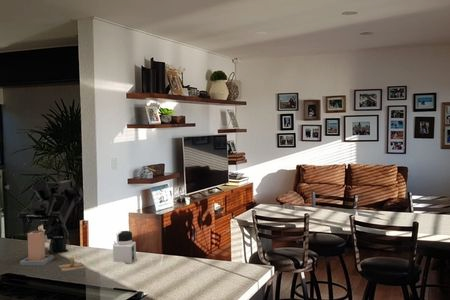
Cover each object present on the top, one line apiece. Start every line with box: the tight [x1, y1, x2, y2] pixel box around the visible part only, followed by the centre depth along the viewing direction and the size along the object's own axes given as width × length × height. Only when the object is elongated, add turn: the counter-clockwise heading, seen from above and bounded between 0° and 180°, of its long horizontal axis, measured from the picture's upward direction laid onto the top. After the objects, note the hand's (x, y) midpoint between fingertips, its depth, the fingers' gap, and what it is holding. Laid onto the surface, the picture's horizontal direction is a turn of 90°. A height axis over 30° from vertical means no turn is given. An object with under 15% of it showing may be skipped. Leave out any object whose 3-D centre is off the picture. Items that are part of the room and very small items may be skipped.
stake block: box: [58, 257, 86, 272], centre depth 186 cm, size 9×9×4 cm
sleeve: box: [27, 230, 46, 261], centre depth 194 cm, size 5×5×13 cm
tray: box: [19, 254, 55, 266], centre depth 194 cm, size 10×10×2 cm
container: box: [112, 230, 137, 265], centre depth 195 cm, size 8×8×13 cm
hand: (34, 234), depth 192 cm, fingers open, 9 cm apart
